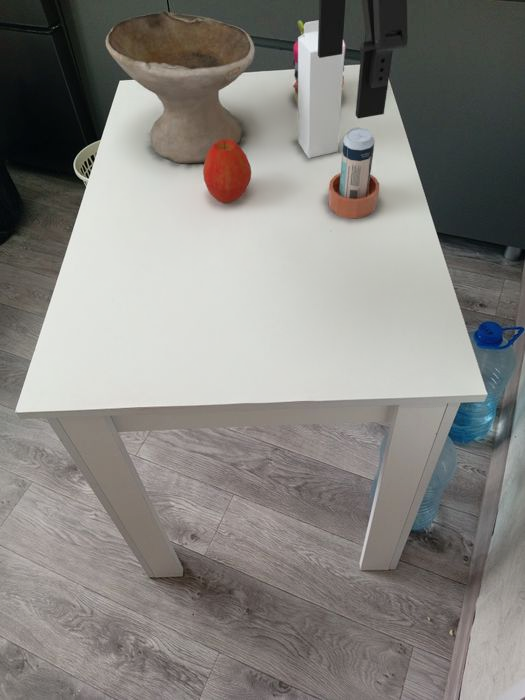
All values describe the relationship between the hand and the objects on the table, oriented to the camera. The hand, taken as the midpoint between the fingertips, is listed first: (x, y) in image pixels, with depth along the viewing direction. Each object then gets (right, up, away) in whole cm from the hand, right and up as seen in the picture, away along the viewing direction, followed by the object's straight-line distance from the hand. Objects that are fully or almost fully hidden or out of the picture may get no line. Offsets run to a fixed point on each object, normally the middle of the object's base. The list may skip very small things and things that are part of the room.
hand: (348, 82), depth 55 cm
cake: (+3, +24, +54) cm, 59 cm away
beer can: (+6, -3, +32) cm, 33 cm away
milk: (+1, +10, +43) cm, 44 cm away
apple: (-15, -2, +36) cm, 39 cm away
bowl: (-22, +13, +47) cm, 54 cm away
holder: (+6, -4, +33) cm, 33 cm away
